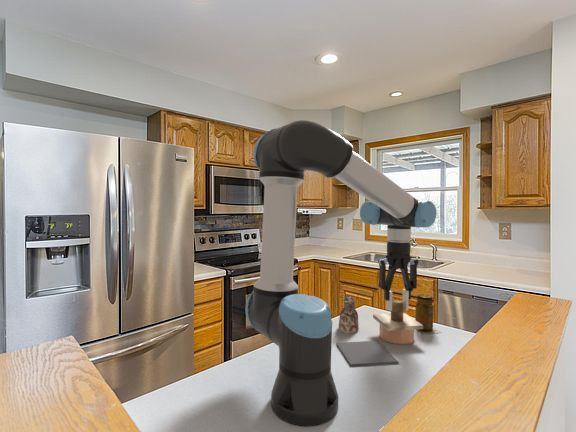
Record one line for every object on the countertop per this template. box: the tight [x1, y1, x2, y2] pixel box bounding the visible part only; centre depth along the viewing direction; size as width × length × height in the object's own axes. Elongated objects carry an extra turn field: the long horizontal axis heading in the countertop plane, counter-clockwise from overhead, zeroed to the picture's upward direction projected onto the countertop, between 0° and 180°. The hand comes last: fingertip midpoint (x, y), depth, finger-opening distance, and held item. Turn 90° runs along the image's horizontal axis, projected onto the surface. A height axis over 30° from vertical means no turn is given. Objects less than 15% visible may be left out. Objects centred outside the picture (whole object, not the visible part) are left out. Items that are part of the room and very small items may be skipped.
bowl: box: [379, 323, 415, 346], centre depth 110 cm, size 11×11×5 cm
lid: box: [372, 299, 423, 331], centre depth 109 cm, size 12×12×7 cm
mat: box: [336, 340, 399, 367], centre depth 98 cm, size 14×14×1 cm
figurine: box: [338, 294, 359, 334], centre depth 117 cm, size 7×7×12 cm
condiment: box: [414, 294, 442, 335], centre depth 117 cm, size 7×8×12 cm
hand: (397, 309), depth 109 cm, fingers open, 5 cm apart
